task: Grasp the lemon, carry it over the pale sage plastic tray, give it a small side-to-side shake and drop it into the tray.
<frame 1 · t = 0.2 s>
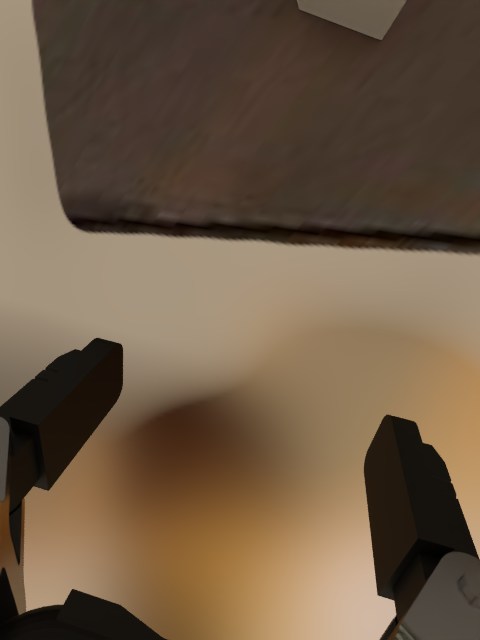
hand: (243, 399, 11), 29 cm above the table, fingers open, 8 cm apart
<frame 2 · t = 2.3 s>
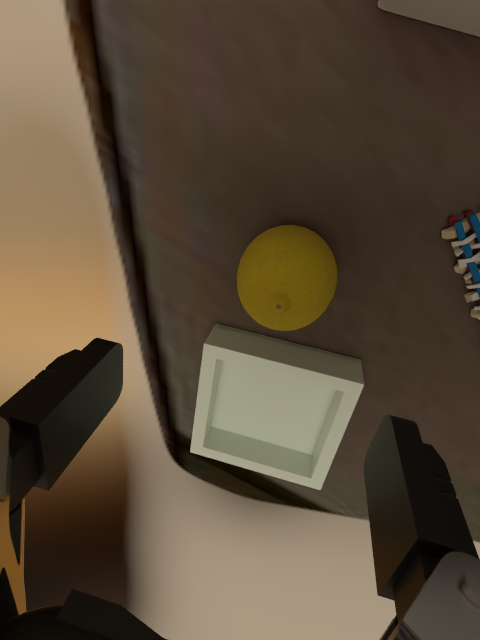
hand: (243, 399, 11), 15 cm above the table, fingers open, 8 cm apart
lemon: (293, 254, 24), on the table
tray: (272, 396, 30), on the table
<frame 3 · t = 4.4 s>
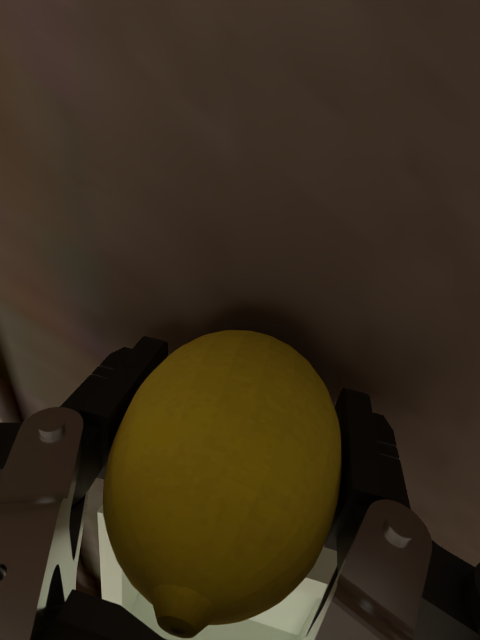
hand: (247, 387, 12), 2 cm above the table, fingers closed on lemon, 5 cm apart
lemon: (257, 357, 13), on the table, touching gripper
tray: (232, 554, 19), on the table
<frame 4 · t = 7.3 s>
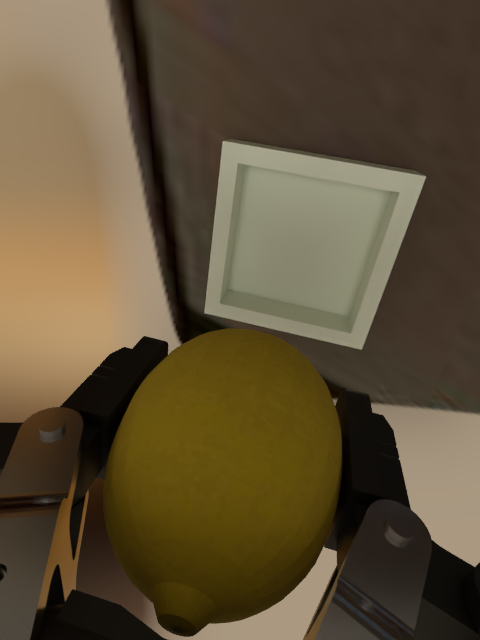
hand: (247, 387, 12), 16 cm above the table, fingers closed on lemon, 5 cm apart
lemon: (257, 356, 13), point 14 cm above the table, touching gripper
tray: (301, 241, 25), on the table
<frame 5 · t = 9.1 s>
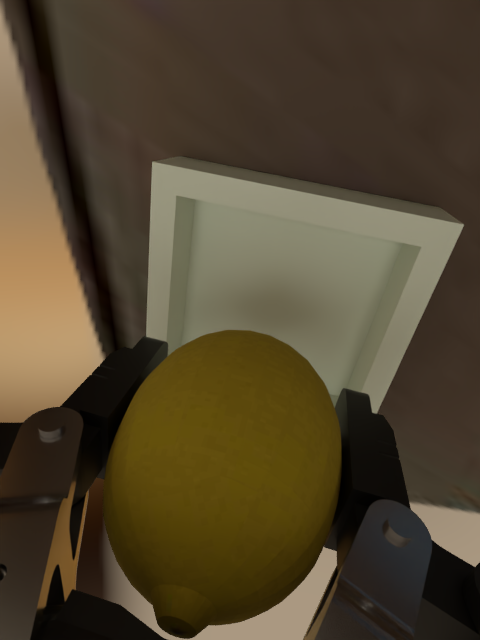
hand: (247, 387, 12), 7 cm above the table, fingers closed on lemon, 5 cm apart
lemon: (257, 357, 13), point 6 cm above the table, touching gripper
tray: (278, 297, 18), on the table
when the fingers open (4 cm above the table, at t = 10.5 s): lemon drops 2 cm, resting on tray.
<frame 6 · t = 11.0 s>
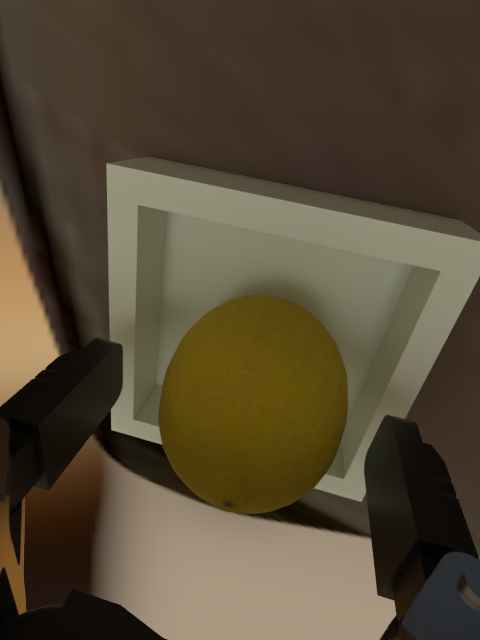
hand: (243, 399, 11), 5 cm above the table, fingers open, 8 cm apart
lemon: (272, 325, 15), resting on tray
tray: (266, 321, 15), on the table
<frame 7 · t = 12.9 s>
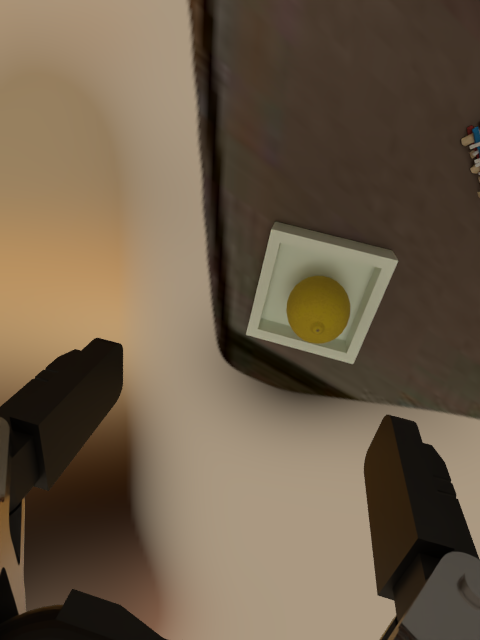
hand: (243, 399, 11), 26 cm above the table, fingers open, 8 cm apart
lemon: (318, 290, 36), resting on tray
tray: (315, 288, 36), on the table
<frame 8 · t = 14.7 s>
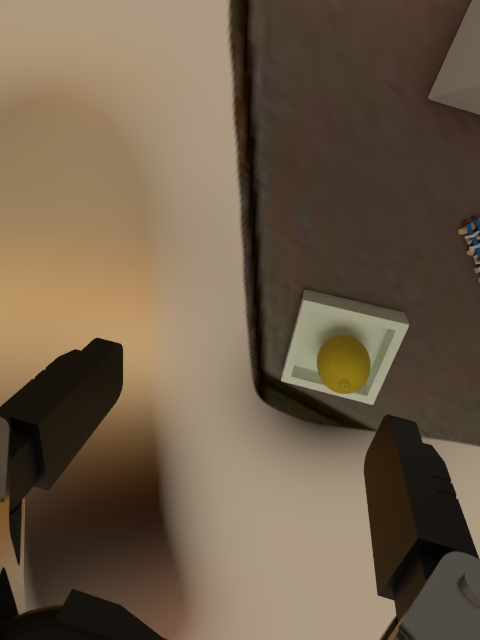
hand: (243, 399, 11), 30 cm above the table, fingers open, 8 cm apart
lemon: (341, 343, 43), resting on tray
tray: (339, 341, 43), on the table
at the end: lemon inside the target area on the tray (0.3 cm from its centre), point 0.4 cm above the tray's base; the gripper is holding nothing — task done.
